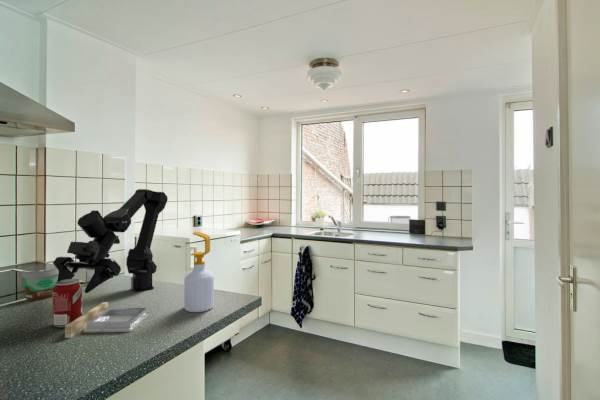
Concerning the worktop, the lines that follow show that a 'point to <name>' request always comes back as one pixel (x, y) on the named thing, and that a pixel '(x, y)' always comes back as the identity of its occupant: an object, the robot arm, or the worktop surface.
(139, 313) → the tray
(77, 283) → the soda can
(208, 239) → the soap bottle
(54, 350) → the worktop surface
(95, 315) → the oak threshold
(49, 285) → the food container
